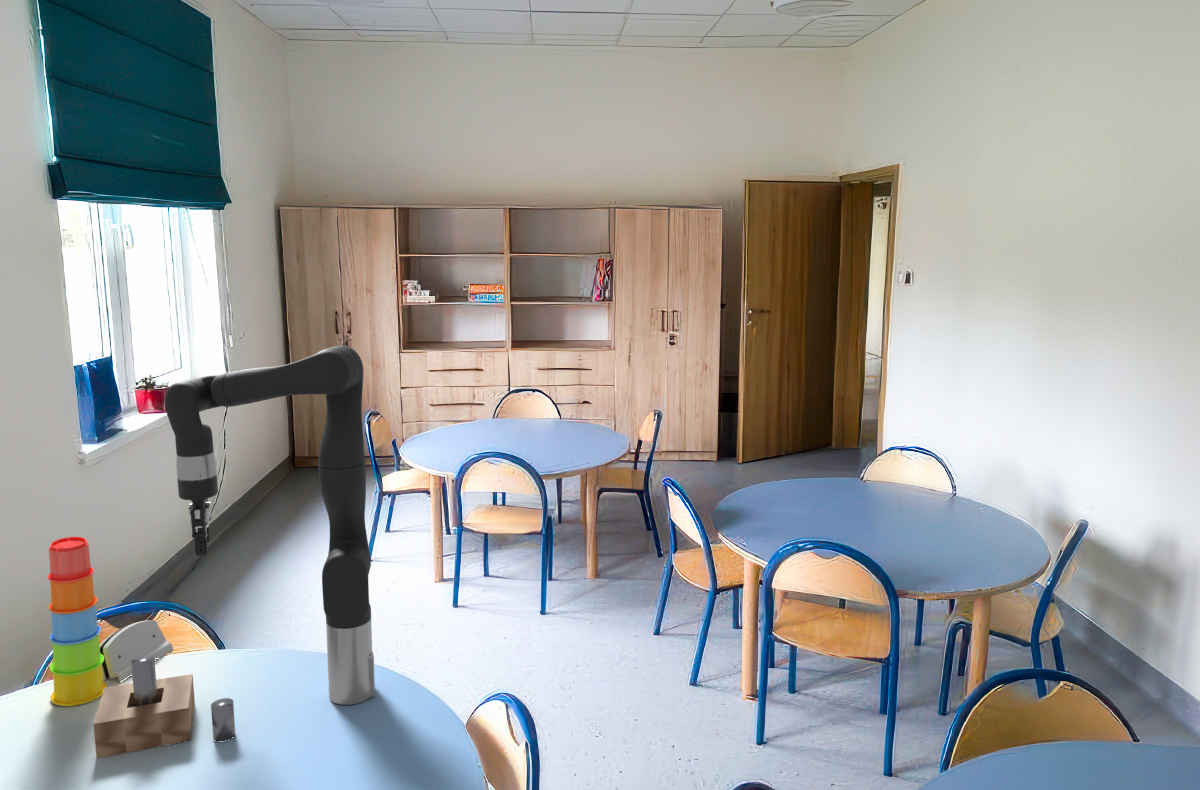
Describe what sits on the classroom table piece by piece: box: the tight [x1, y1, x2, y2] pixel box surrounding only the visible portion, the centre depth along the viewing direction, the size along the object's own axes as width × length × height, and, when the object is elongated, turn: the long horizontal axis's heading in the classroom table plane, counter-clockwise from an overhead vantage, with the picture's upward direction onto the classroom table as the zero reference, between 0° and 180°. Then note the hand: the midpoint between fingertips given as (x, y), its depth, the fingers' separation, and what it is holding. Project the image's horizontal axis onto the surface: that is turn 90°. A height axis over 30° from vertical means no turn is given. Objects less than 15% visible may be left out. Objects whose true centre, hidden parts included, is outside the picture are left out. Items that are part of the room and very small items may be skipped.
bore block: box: [92, 673, 196, 759], centre depth 168 cm, size 16×14×7 cm
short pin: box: [210, 697, 236, 742], centre depth 167 cm, size 4×4×7 cm
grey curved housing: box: [99, 619, 174, 681], centre depth 194 cm, size 17×5×10 cm, turn 167°
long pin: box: [131, 655, 158, 707], centre depth 168 cm, size 4×4×15 cm
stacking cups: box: [47, 536, 108, 707], centre depth 178 cm, size 10×10×35 cm
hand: (203, 547), depth 180 cm, fingers open, 8 cm apart
